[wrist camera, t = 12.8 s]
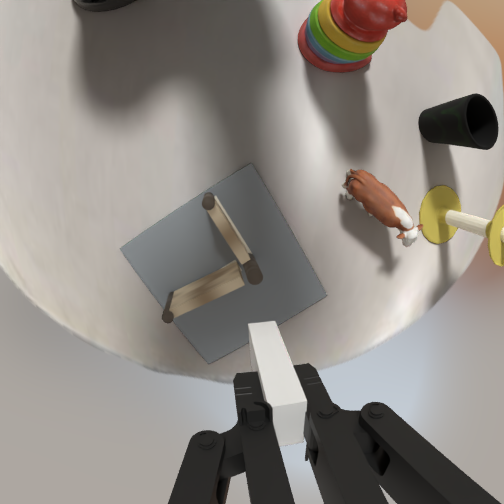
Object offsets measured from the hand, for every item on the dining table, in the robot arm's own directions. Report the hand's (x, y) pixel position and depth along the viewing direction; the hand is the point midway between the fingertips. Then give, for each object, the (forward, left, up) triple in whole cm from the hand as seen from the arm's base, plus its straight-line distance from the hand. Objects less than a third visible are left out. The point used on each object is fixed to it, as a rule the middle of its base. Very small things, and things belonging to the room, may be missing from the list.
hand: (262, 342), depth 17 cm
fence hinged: (+3, -6, -25) cm, 26 cm away
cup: (+1, +36, -26) cm, 45 cm away
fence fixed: (-1, 0, -26) cm, 26 cm away
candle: (+15, +31, -26) cm, 43 cm away
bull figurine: (+6, +19, -26) cm, 33 cm away
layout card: (+4, -3, -26) cm, 27 cm away
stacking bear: (-17, +26, -26) cm, 41 cm away
